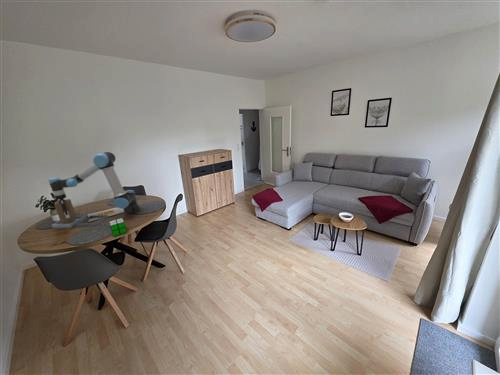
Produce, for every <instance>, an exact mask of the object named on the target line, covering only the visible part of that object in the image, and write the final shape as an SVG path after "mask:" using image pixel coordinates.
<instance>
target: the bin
mask: <svg viewBox="0 0 500 375" xmlns="http://www.w3.org/2000/svg"><path fill="white" fill-rule="evenodd" d="M76 217H77V218H76V220H75V221H73V222H68V223H64V224H61V221H60V220H58V221H57V222H54V223H53V224H51V227H52V229H60V228H61V229H63V228H64V229H65V228H66V229H67V228H70V229H71V228H73V227H75V226H76V224H77V223H78V222H80V221H82V220H84V219H86V218H87V215H76Z"/></svg>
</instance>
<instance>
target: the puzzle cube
mask: <svg viewBox="0 0 500 375" xmlns="http://www.w3.org/2000/svg"><path fill="white" fill-rule="evenodd" d="M124 220H125V219H124V218H118V219H114V220H112V221H111V220H110V221H109V227H110V229H111V234H112V236H113V237H115V236H119V235H123V234H125V233H127V232H128V231H127V227H126V224H125V221H124Z"/></svg>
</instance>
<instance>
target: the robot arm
mask: <svg viewBox="0 0 500 375" xmlns="http://www.w3.org/2000/svg"><path fill="white" fill-rule="evenodd" d="M115 161H116V155H115V154H114V153H112V152H111V151H106V152H105V151H104V152H99V153H97V154H95V155H94V156H93V159H92V162H93V163H92V164H91V165H89V166H88V167H86V168H84V169H83V170H81V171H79V173H77V174H76V175H74V176H71V177H69V178H66V179H61V178H60V177H51V178H49V179H48V183H49V185H50V188H51V193H52V194H53V195H54V199H55V200H56V201H59V202H60V203H61V206H62V208H63V212H64V214H65V217H66V218H70V216H69V213H68V211H67V208H66V206H65V203H64V202H65V200H66V198H67V195H66V191H65V189H66V188H75V187H77V186H78V184H81V183H83V182H84V181H85V180H87V179H89V177H92V175H94V174H96V173H97V172H98V171H102V173H103V174H104V176H105V178H106V180H107V182H108V184H109V187H110V189H111V191H112V192H113V199H114V202H113V204H114V206H115V207H116V208H118V209H119V210H120V209H123V212H124V214H126V215H130V214H135V213H138V212H140V211H141V206H140V205H139V203H138V201H137V199H136V198H137V197H136V193H135V190H133V189H128V190H124V188H123V186H122V184H121V181H120V179H119V177H118V175H117V173H116V171H115V169H114V168H115V164H114V163H115ZM137 211H138V212H137Z"/></svg>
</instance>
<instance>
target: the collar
mask: <svg viewBox="0 0 500 375" xmlns="http://www.w3.org/2000/svg"><path fill="white" fill-rule="evenodd" d="M109 217H110V216H109V214H98V215H97V214H96V215H95V214H94V215H92V214H91V215H89V216H88V217H87V216H86V219H84V220H82V221H80V222H78V223H77V224H76V225H75V226H76V227H96V226H97V225H98V224H100V223H101V222H103V221H105V220H107V219H108V218H109ZM91 219H98V220H97V221H95V222H87V221H90V220H91ZM86 222H87V223H86ZM95 225H96V226H95Z"/></svg>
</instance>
